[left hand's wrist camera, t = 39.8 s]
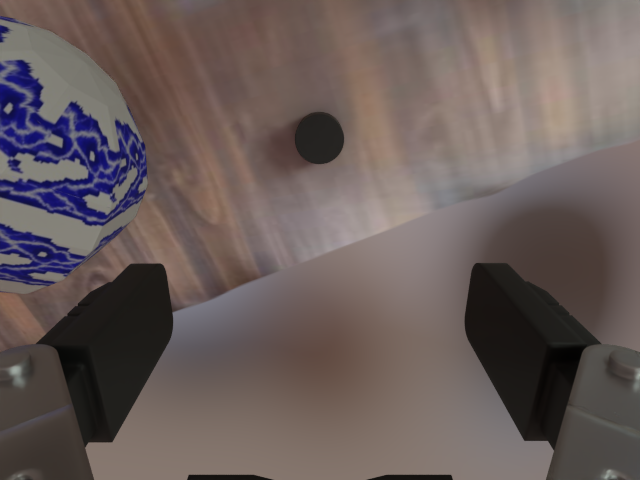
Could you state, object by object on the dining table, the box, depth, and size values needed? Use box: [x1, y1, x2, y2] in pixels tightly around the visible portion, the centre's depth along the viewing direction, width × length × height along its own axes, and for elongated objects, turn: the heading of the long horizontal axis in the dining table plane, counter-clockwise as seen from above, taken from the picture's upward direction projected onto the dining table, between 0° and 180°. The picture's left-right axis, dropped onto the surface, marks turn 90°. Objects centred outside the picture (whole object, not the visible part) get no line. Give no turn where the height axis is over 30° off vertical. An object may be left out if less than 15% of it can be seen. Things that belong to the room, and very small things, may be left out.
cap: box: [295, 112, 344, 164], centre depth 38 cm, size 4×4×2 cm
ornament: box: [0, 16, 148, 294], centre depth 31 cm, size 20×20×20 cm
